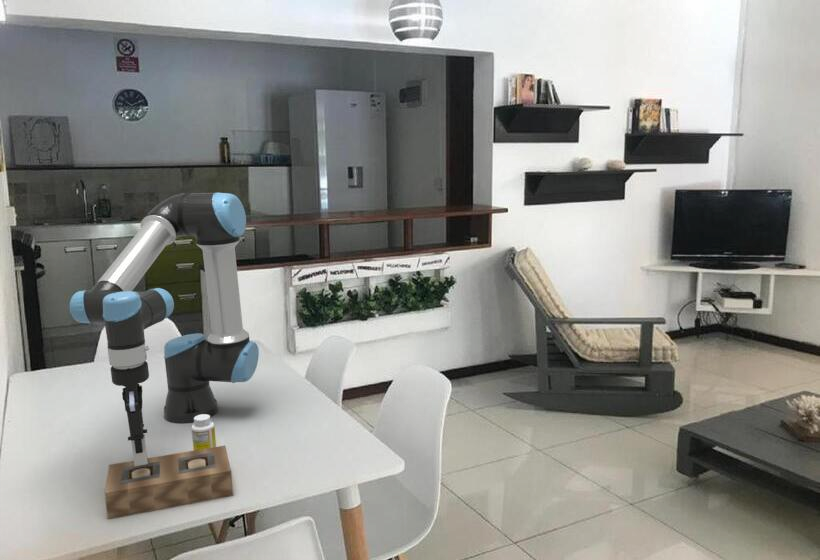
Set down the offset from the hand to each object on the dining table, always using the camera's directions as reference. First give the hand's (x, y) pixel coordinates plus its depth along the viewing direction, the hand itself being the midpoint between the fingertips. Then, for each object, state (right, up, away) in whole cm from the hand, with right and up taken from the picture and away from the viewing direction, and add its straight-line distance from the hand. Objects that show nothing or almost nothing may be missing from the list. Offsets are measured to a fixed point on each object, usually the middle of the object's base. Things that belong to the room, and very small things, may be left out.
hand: (141, 463), depth 153 cm
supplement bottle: (+8, -4, +22) cm, 23 cm away
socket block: (+6, -7, +3) cm, 10 cm away
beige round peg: (0, -8, +1) cm, 8 cm away
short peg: (+11, -7, +5) cm, 14 cm away
